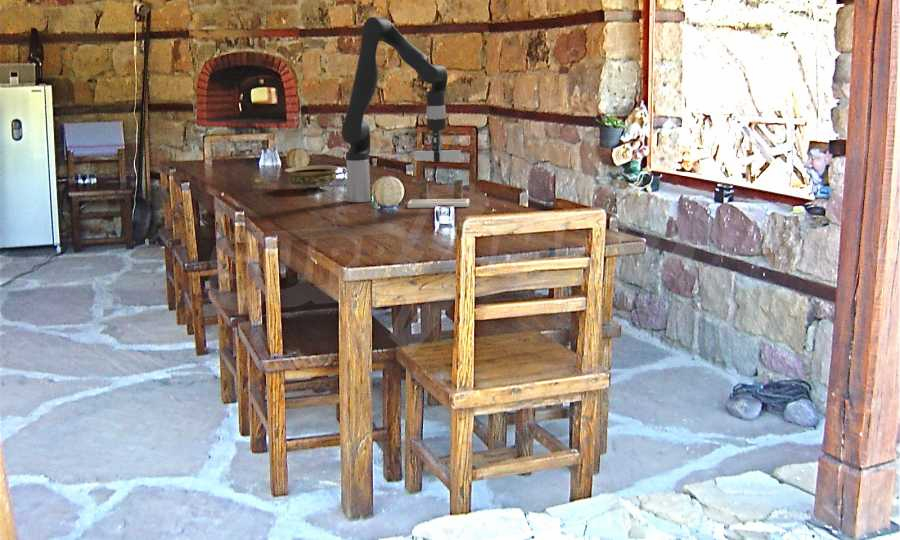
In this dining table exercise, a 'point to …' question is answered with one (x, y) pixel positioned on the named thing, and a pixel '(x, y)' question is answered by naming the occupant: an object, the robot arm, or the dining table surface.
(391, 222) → the dining table surface
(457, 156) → the rail
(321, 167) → the ceramic bowl
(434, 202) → the tray
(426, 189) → the rack
